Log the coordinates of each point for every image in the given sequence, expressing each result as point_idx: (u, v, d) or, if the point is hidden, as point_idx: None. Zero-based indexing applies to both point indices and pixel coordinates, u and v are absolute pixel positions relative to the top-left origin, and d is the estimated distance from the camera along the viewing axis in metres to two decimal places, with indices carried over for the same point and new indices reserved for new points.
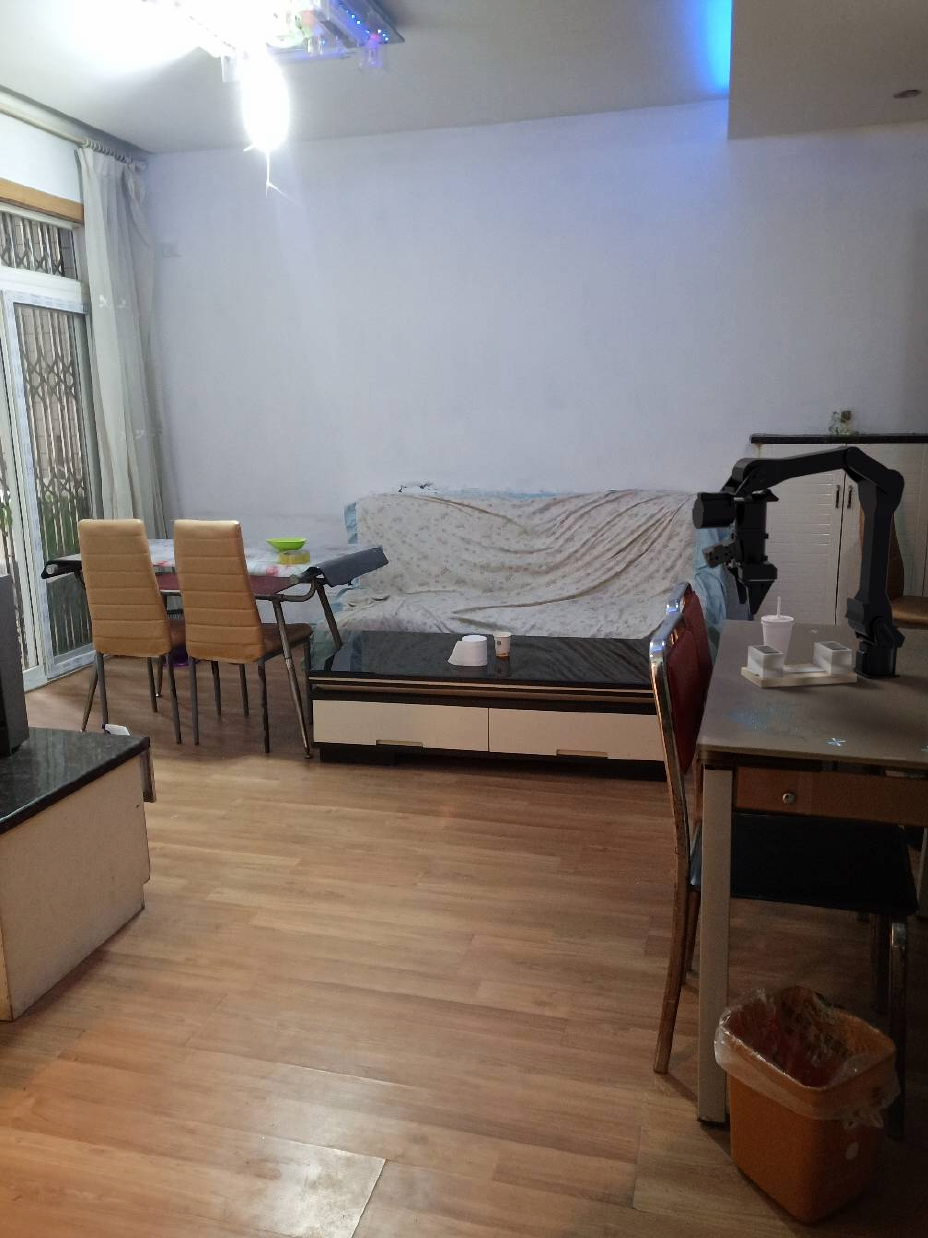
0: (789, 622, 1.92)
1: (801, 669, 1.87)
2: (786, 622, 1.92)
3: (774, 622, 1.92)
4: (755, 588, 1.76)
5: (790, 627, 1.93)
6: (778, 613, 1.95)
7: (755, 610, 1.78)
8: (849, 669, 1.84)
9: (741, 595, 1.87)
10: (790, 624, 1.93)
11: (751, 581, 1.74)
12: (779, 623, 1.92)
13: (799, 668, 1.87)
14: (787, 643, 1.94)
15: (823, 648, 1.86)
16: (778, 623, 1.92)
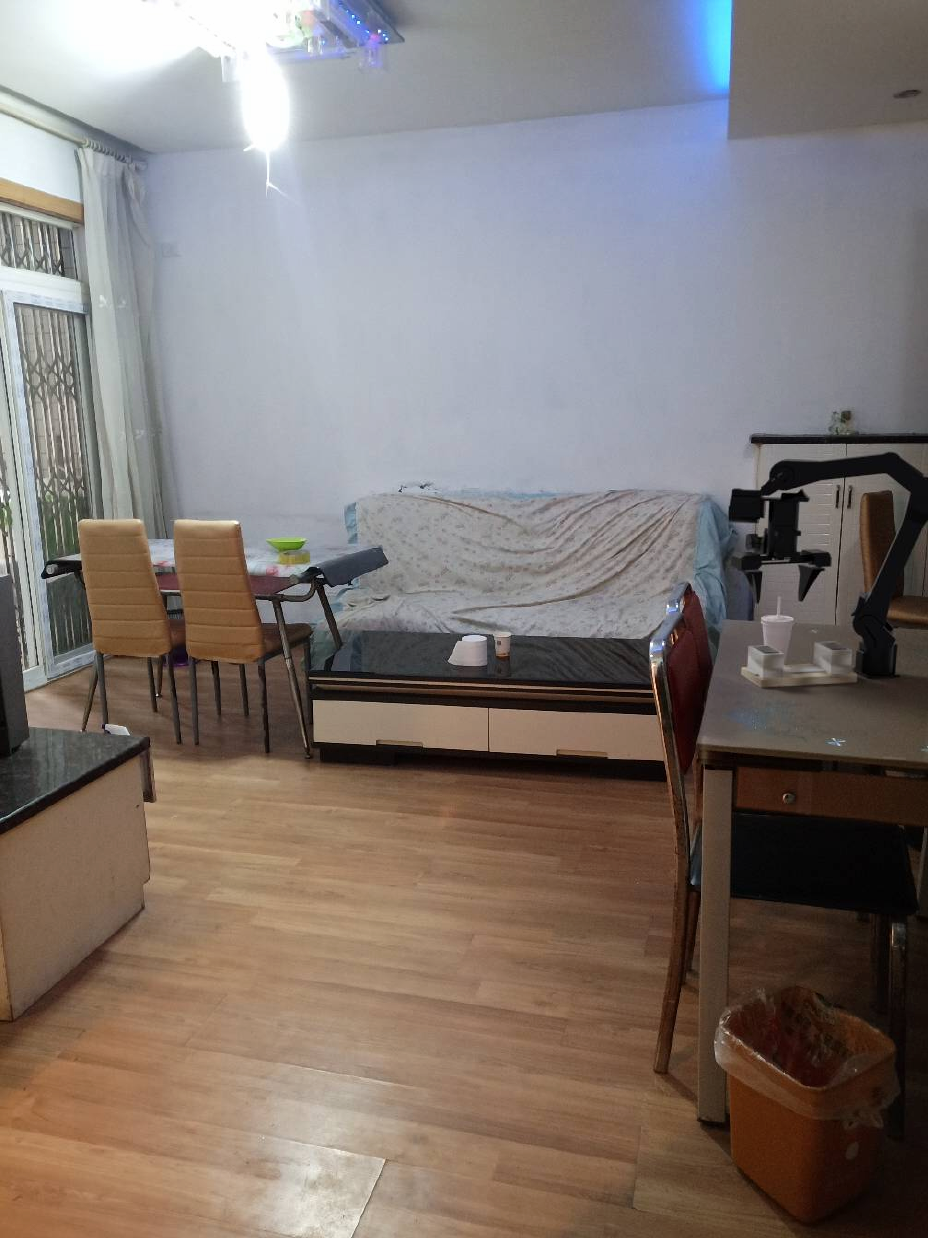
0: (789, 622, 1.92)
1: (801, 669, 1.87)
2: (786, 622, 1.92)
3: (774, 622, 1.92)
4: (752, 578, 1.92)
5: (790, 627, 1.93)
6: (778, 613, 1.95)
7: (755, 599, 1.92)
8: (849, 669, 1.84)
9: (799, 592, 1.94)
10: (790, 624, 1.93)
11: (739, 569, 1.92)
12: (779, 623, 1.92)
13: (799, 668, 1.87)
14: (787, 643, 1.94)
15: (823, 648, 1.86)
16: (778, 623, 1.92)
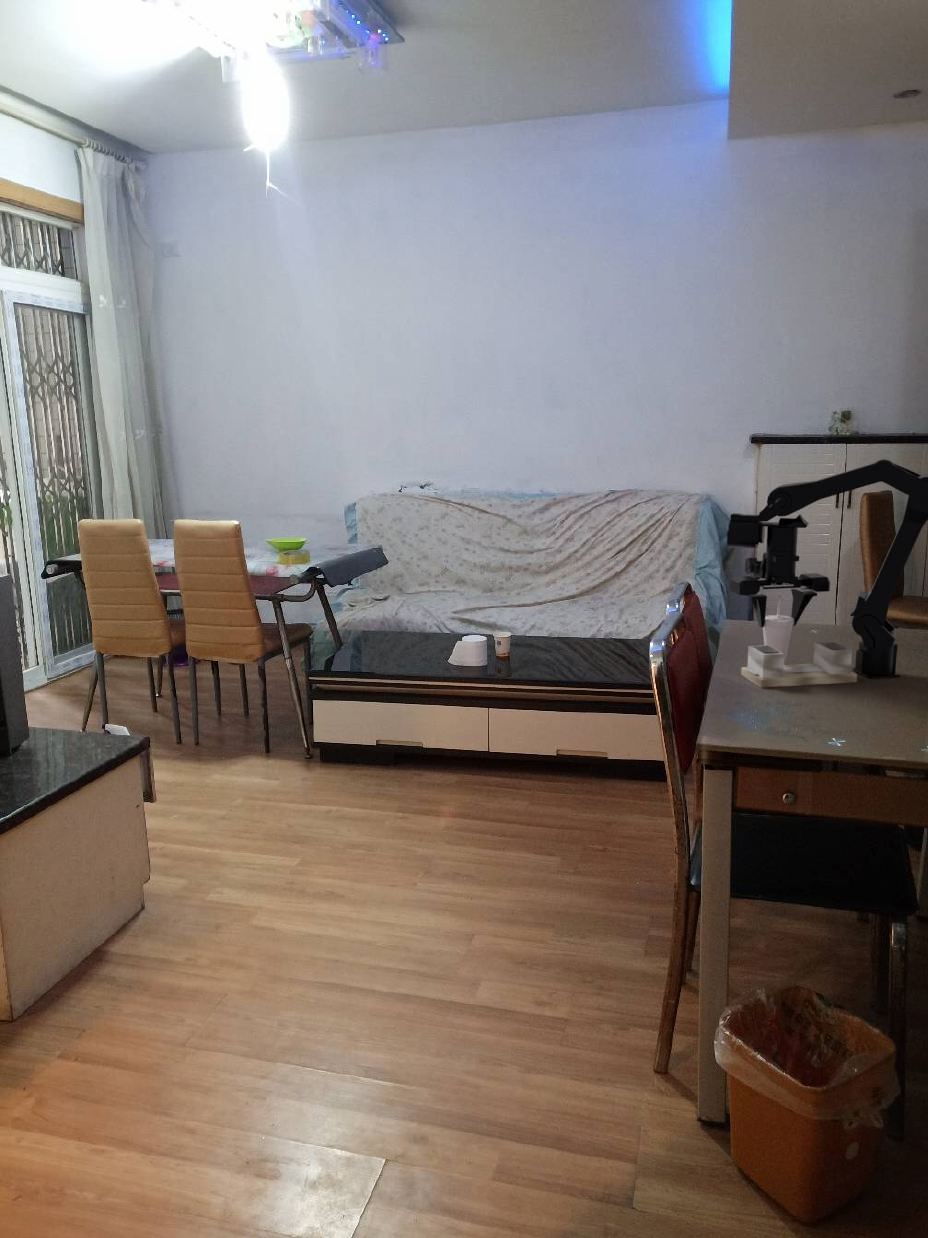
0: (789, 622, 1.92)
1: (801, 669, 1.87)
2: (786, 622, 1.92)
3: (774, 622, 1.92)
4: (757, 602, 1.94)
5: (790, 627, 1.93)
6: (778, 613, 1.95)
7: (760, 623, 1.94)
8: (849, 669, 1.84)
9: (792, 616, 1.95)
10: (790, 624, 1.93)
11: None
12: (779, 623, 1.92)
13: (799, 668, 1.87)
14: (787, 643, 1.94)
15: (823, 648, 1.86)
16: (778, 623, 1.92)
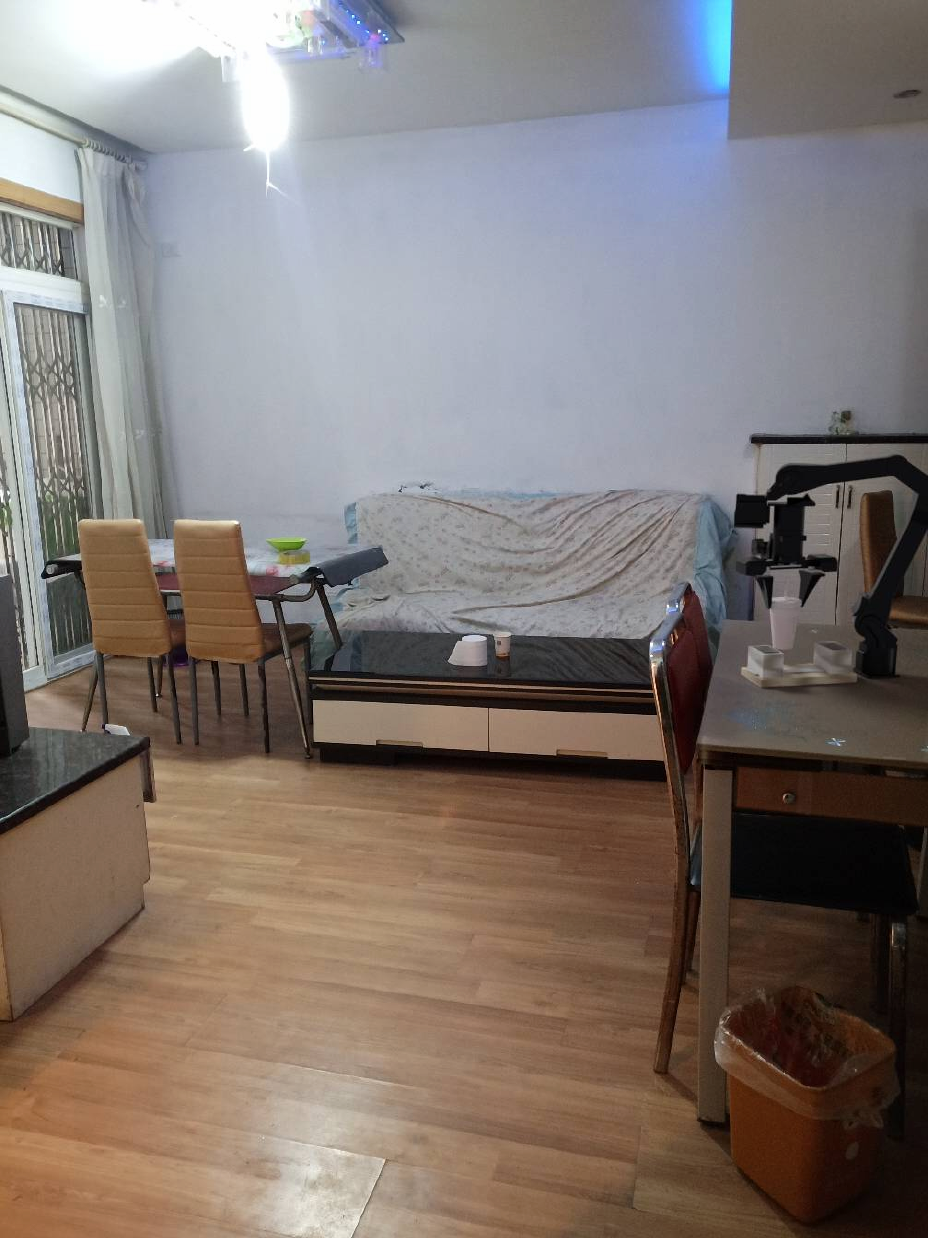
0: (796, 603, 1.89)
1: (801, 669, 1.87)
2: (793, 603, 1.89)
3: (781, 603, 1.89)
4: (763, 583, 1.90)
5: (797, 608, 1.90)
6: (785, 594, 1.92)
7: (767, 604, 1.91)
8: (849, 669, 1.84)
9: (800, 598, 1.92)
10: (797, 605, 1.89)
11: None
12: (786, 604, 1.89)
13: (799, 668, 1.87)
14: (794, 625, 1.91)
15: (823, 648, 1.86)
16: (785, 604, 1.89)
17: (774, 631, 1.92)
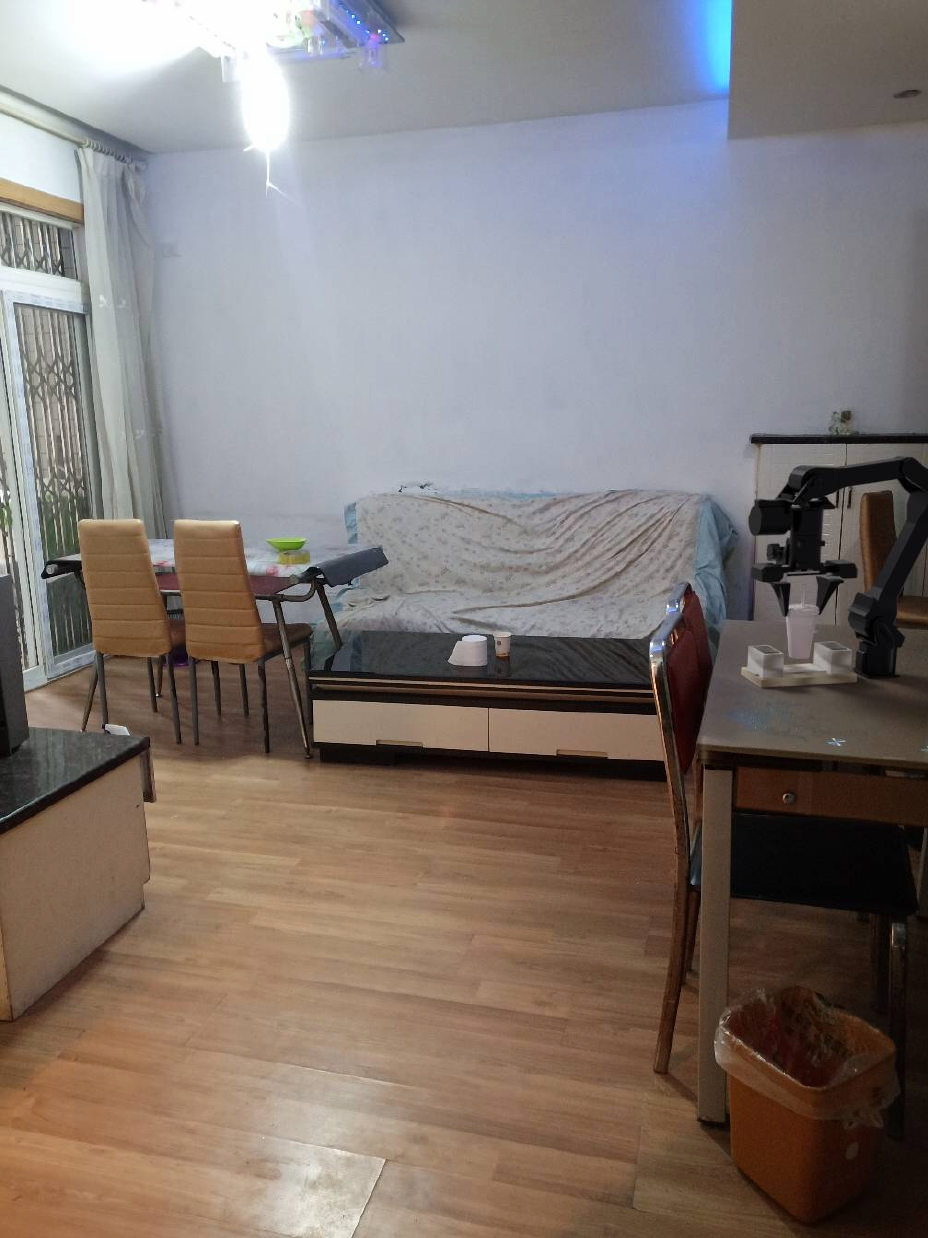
0: (814, 611, 1.82)
1: (801, 669, 1.87)
2: (811, 611, 1.82)
3: (798, 611, 1.82)
4: (780, 590, 1.83)
5: (815, 616, 1.83)
6: (802, 602, 1.84)
7: (783, 612, 1.84)
8: (849, 669, 1.84)
9: (817, 605, 1.85)
10: (815, 613, 1.82)
11: None
12: (804, 612, 1.81)
13: (799, 668, 1.87)
14: (812, 633, 1.84)
15: (823, 648, 1.86)
16: (802, 612, 1.82)
17: (790, 639, 1.85)
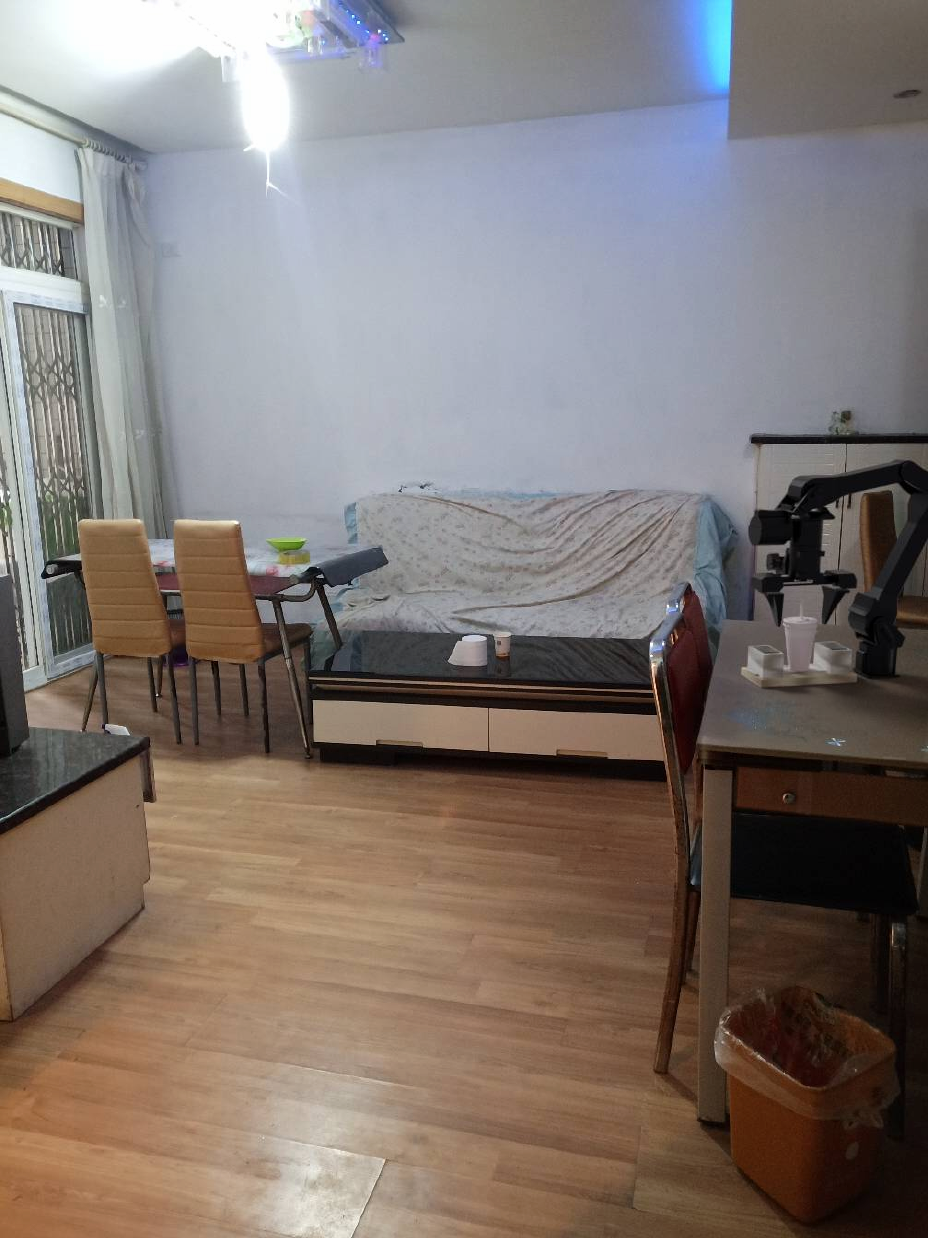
0: (813, 624, 1.82)
1: None
2: (810, 624, 1.82)
3: (797, 624, 1.82)
4: (773, 600, 1.83)
5: (814, 629, 1.83)
6: (801, 614, 1.85)
7: (776, 622, 1.84)
8: (849, 669, 1.84)
9: (823, 615, 1.85)
10: (814, 626, 1.83)
11: (760, 590, 1.84)
12: (802, 625, 1.82)
13: None
14: (811, 646, 1.84)
15: (823, 648, 1.86)
16: (801, 625, 1.82)
17: (790, 652, 1.85)
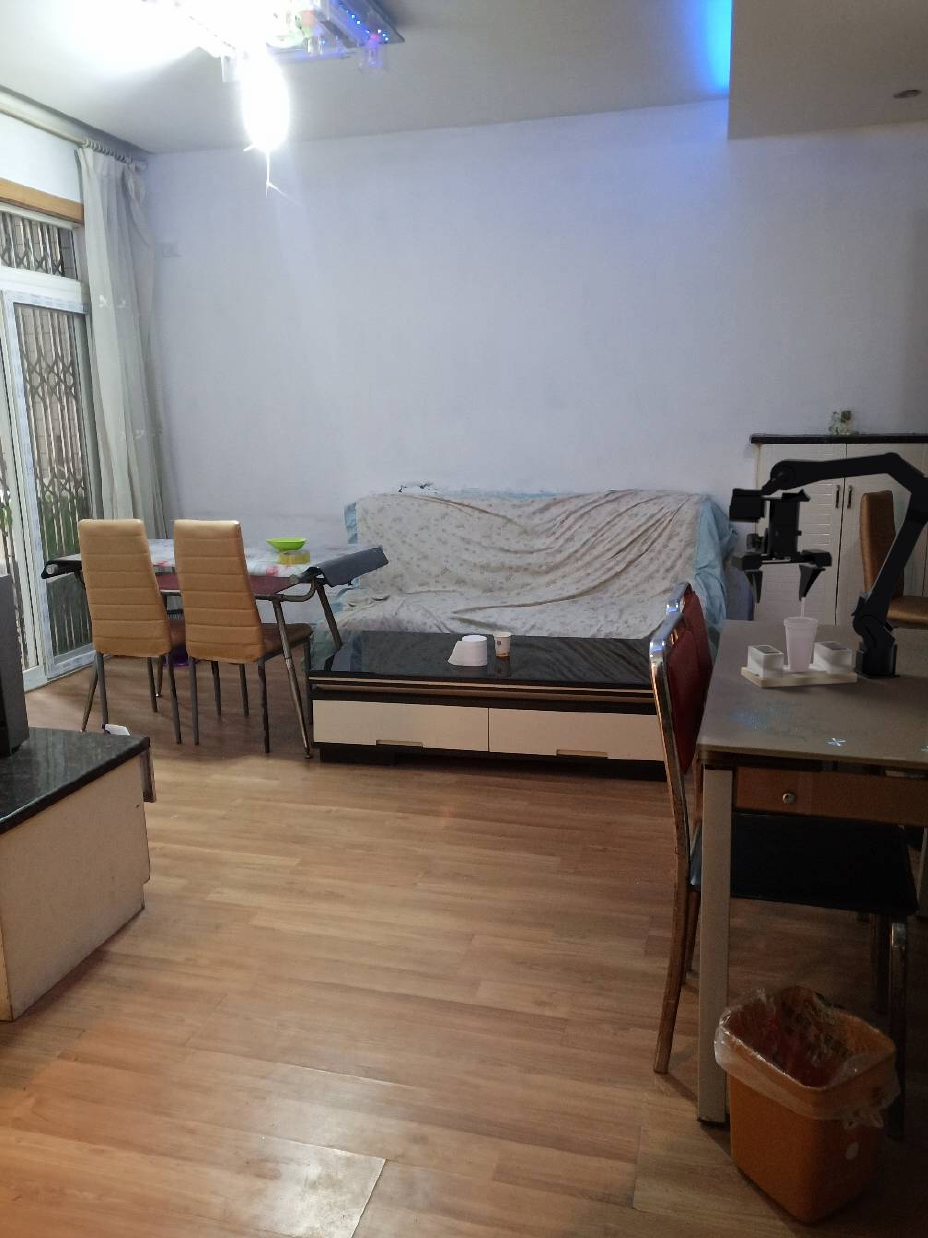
0: (814, 624, 1.82)
1: None
2: (810, 624, 1.82)
3: (798, 624, 1.82)
4: (753, 578, 1.92)
5: (815, 629, 1.83)
6: (802, 615, 1.85)
7: (756, 599, 1.92)
8: (849, 669, 1.84)
9: (800, 592, 1.94)
10: (815, 626, 1.83)
11: (740, 568, 1.92)
12: (803, 625, 1.82)
13: None
14: (811, 646, 1.84)
15: (823, 648, 1.86)
16: (802, 625, 1.82)
17: (790, 652, 1.85)
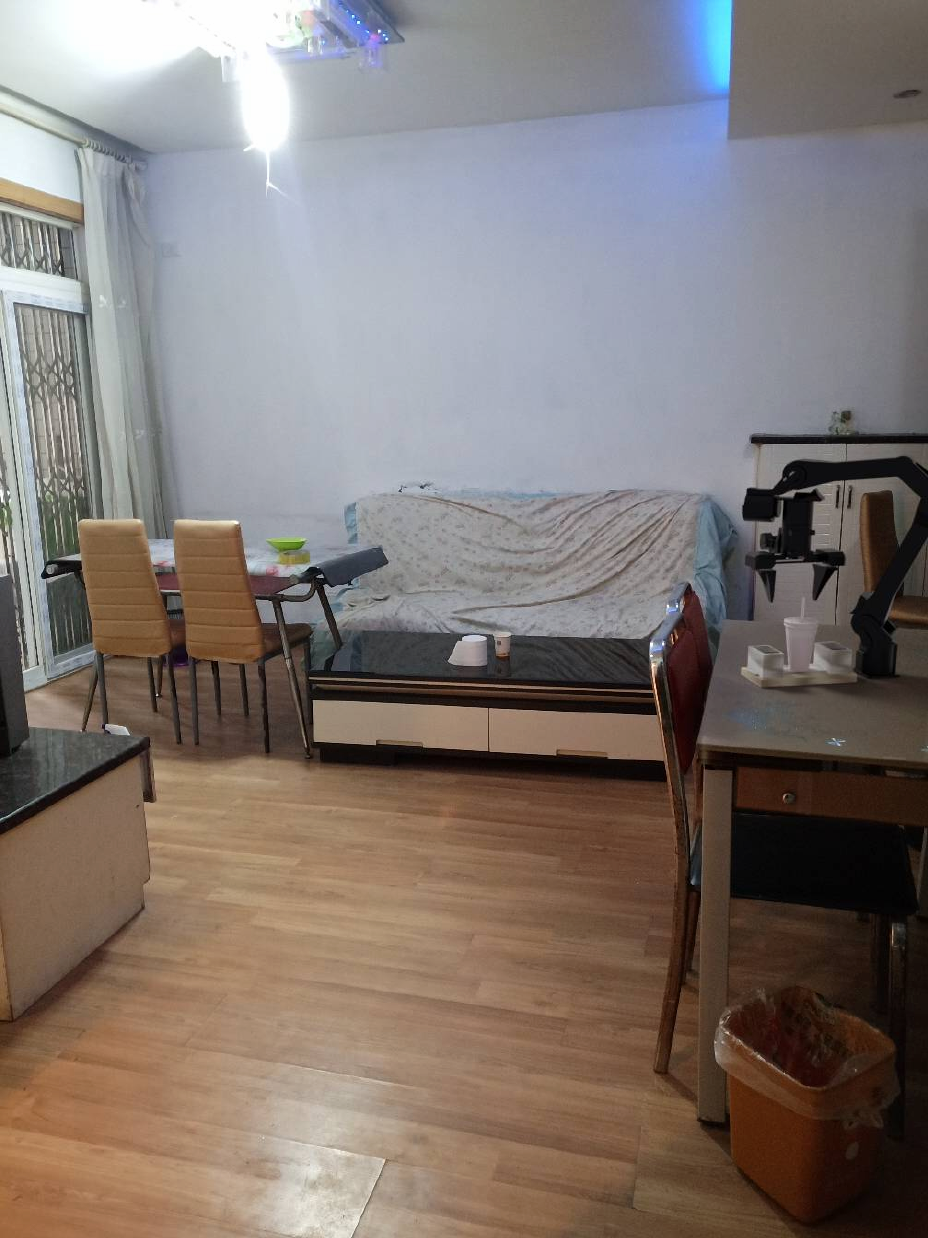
0: (814, 624, 1.82)
1: None
2: (811, 624, 1.82)
3: (798, 624, 1.82)
4: (766, 577, 1.93)
5: (815, 629, 1.83)
6: (802, 615, 1.85)
7: (769, 598, 1.93)
8: (849, 669, 1.84)
9: (813, 591, 1.95)
10: (815, 626, 1.83)
11: (753, 568, 1.93)
12: (803, 625, 1.82)
13: None
14: (811, 646, 1.84)
15: (823, 648, 1.86)
16: (802, 625, 1.82)
17: (790, 652, 1.85)
